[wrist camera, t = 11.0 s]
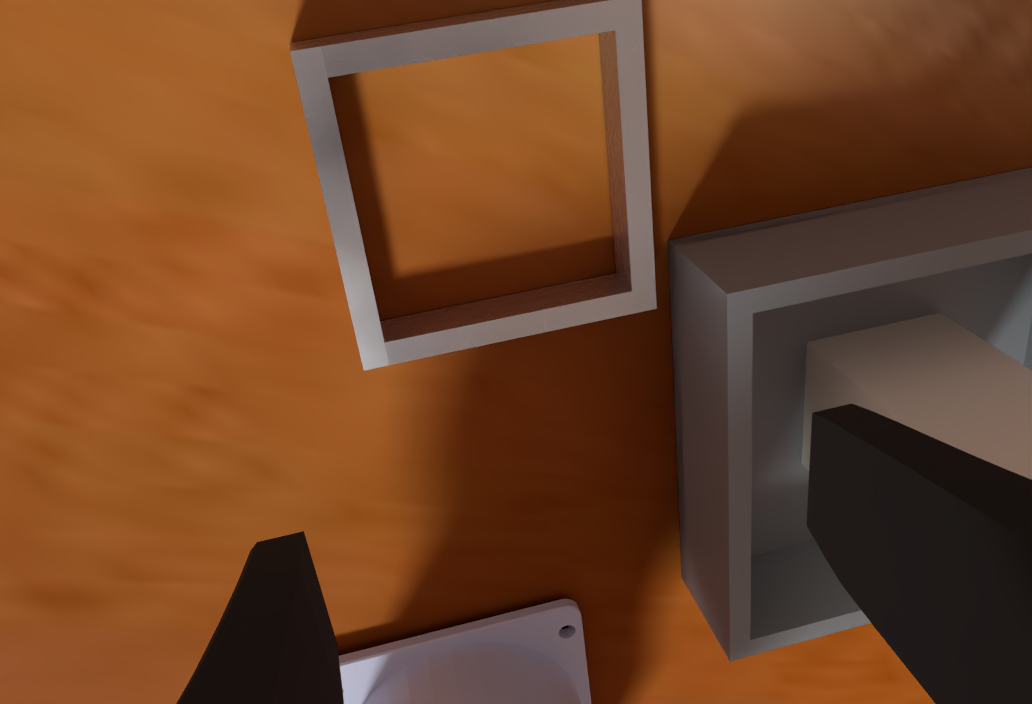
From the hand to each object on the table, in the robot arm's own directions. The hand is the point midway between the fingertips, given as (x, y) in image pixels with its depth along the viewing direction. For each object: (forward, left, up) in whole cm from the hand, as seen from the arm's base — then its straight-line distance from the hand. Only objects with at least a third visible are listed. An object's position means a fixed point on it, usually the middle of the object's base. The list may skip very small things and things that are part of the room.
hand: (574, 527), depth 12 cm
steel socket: (+2, -1, -10) cm, 11 cm away
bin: (-6, -11, -10) cm, 16 cm away
